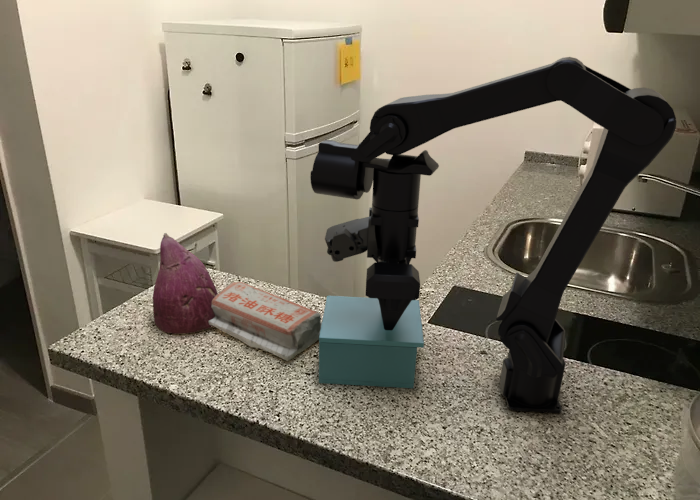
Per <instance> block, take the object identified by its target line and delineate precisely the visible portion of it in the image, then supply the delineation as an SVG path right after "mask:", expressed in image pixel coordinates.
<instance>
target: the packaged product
mask: <svg viewBox="0 0 700 500" xmlns="http://www.w3.org/2000/svg"><path fill="white" fill-rule="evenodd" d="M212 309H213V311H214V314H215V317H214V318H213V319H211V320H209V325H212V327H215V328H217V329H219V330H220V331H221V332H224V333H225V334H228V335H230V336H231V337H233V338H235V339H237V340H239V341H241V342H242V343H244V344H246V345H247V346H248V347H250V348H255V349H261V350H263V351H266V352H267V353H268V352H269V353H270V354H272V355H275V356H277V357H279V358H280V359H282V360H283V361H286V362H289V361H291V360H293V358H295V357H297V356H298V355H299V354H301V353H302V352H303V351H305V350H306V349H308V348H309V347H311V346H312V345H313V344H314V343H316V342H317V341H319V335H320V330H321V325H322V321H321V320H322V315H321V313H320V312H317V311H315V310H313V309H311V308H309V307H306V306H303V305H301V304H298V303H296V302H293V301H290V300H289V299H286V298H283V297H281V296H279V295H276V294H274V293H270V292H267V291H265V290H263V289H260V288H257V287H254V286H252V285H249V284H248V283H245V282H243V281H233V282H230V283H229V284H227V285H226V286H225V288H223V289H222V290H221V291H220V292H218V294H217V295H216V296H215V297H214V298H213V299H212Z"/></svg>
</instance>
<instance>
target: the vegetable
mask: <svg viewBox="0 0 700 500" xmlns="http://www.w3.org/2000/svg"><path fill="white" fill-rule="evenodd" d="M162 236H163V237H162V238H161V241H160V246H159V252H160V253H159V254H160V255H159V256H160V259H159V260H160V262H159V269H158V272H157V276H156V279H155V283H154V286H153V287H154V288H153V293H152V309H153V310H152V311H153V312H152V313H153V320H154V324H155V325H156V327H157V328H158V329H159V330H160V331H162V332H163V333H167V334H175V335H176V334H178V335H179V334H180V335H181V334H182V335H183V334H186V335H187V334H193V333H197V332H201V331H205V330H208V329H210V328H212V327H213V326H212V325H209V320H211V319H213V318H214V317H215V314H214V311H213V309H212V299H213V298H214V297H215V296H216V295H217V294H219V292H218V290H217V288H216V286H215V283H214V281H213V279H212V277H211V274H210V273H209V271H208V269H207V267H206V266H205V264H204V262H202V261H201V259H199V257H198V256H196V255H195V254H194V253H192V252H191V251H190V250H189V249H187V248H186V247H184V246H183V245H182V244H180V242H178V241H177V240H176V239H174V238H173V237H172V236H170V235H169V234H167V232H165V233H163V235H162Z"/></svg>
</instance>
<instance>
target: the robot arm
mask: <svg viewBox="0 0 700 500" xmlns="http://www.w3.org/2000/svg"><path fill="white" fill-rule="evenodd" d="M558 101H559V102H562V103H564V104H566V105H568V106H569V107H571V108H573V109H574V110H575V111H577V112H578V113H580V114H582V115H583V116H585V117H586V118H587V119H589V120H591V121H592V122H593V123H595V124H597V125H598V126H600V127H602V128H603V129H602V131H601V135H600V139H599V142H598V145H597V149H596V152H595V154H594V155H595V156H594V159H593V162H592V166H591V167H590V170H589V171H588V173H587V175H586V177H585V178H584V181H583V182H582V184H581V186H580V188H579V189H578V192H577V193H576V195H575V197H574V199H573V200H572V202H571V205H570V206H569V208H568V209H567V211H566V213H565V215H564V216H563V219H562V221H561V222H560V224H559V226H558V228H557V230H556V232H555V233H554V235H553V237H552V239H551V241H549V244H548V246H547V248H546V249H545V252H544V253H543V255H542V257H541V259H540V261H539V262H538V264H537V266H536V267H535V268H534V270H532V272H531V273H529V274H528V275H527V276H526V277H525V276H523V275H522V274H521V273H519V272H515V274H514V278H513V281H512V285H511V287H510V288H509V290H508V291H507V292H505V293H504V294H503V295H502V298H501V302H500V305H499V308H498V311H497V315H496V318H495V320H496V321H498V322H499V326H498V329H497V330H498V331H497V335H498V337H499V339H500V341H501V343H502V344H503V346H504V347H505V348H506V349H507V350H508V354H507V358H506V357H505V358H503V359H502V364H501V369H500V370H501V372H500V377H499V384H498V385H499V388H500V392H501V394H502V397H503V398H505V401H506V405H507V408H508V410H510V411H517V412H519V411H520V412H530V413H531V412H534V413H550V414H561V413H562V410H563V408H562V405H561V402H560V400H559V397H560V393H561V389H562V383H563V378H564V374H565V370H566V361H565V359H564V355H565V354H564V353H565V343H566V342H565V341H566V329H565V328H564V327H563V326H562V325H561V323H560V322H559V320H557V315H558V311H559V308H560V305H561V302H562V298H563V295H564V292H565V290H566V289H567V287H568V285H569V283H570V282H571V280H572V279H573V277H574V275H575V274H576V272H577V270H578V268H579V267H580V265H581V263H582V262H583V260H584V259H585V257H586V255H587V254H588V251H589V249H590V248H591V246H592V245H593V243H594V241H595V239H596V237H597V236H598V234H599V233H600V231H601V230H602V228H603V226H604V225H605V224H606V223H605V222H606V221H607V220H608V218H609V216H610V214H611V212H612V211H613V209H614V208H615V206H616V204H617V202H618V200H619V199H620V197H621V196H622V194H623V192H624V190H625V189H626V187H627V186H628V185H629V184H631V182H633V180H635V179H636V178H637V177H638V176H639V175H640V174H641V173H642V172H644V170H646V169H647V167H649V166H650V164H651V163H652V162H653V161H654V160H655V159H656V157H658V155H659V154H660V153H661V151H662V150H663V149H664V148H666V146H667V145H668V144H669V143H670V141H671V139H672V138H673V137H674V134H675V131H676V129H677V117H676V114H675V111H674V108H673V107H672V106H671V105H670V103H669V102H668V101H667V99H666V98H665V97H664V96H663V94H661V93H660V92H659V91H657V90H655V89H653V88H649V87H635V88H634V87H633V88H630V87H627V86H626V85H624V84H622V83H620V82H619V81H617V80H615V79H613V78H611V77H609V76H607V75H605V74H603V73H601V72H599V71H597V70H594V69H593V68H590V67H589V66H587V65H586V64H584V62H583V61H581V60H580V59H578V58H576V57H572V56H566V57H561V58H558V59H557V60H555V61H553V62H551V63H549V64H545V65H542V66H538V67H535V68H532V69H528V70H525V71H522V72H518V73H515V74H511V75H508V76H505V77H501V78H498V79H494V80H493V81H492V80H491V81H488V82H485V83H481V84H477V85H475V86H471V87H467V88H464V89H461V90H457V91H455V92H449V93H437V94H436V93H435V94H434V93H433V94H420V95H413V96H404V97H399V98H397V99H394V100H393V101H391V102H389V103H387V104H385V105H382V106H381V107H379V108H377V110H376V111H374V113H373V115H372V117H371V120H370V123H369V132H368V133H367V135H366V136H365V137H364V138H363V140H362V141H361V142H359V143H358V144H354V143H345V142H343V143H342V142H339V141H336V140H332V139H324V140H321V142H319V143H318V151H317V153H316V155H315V158H314V159H313V160H314V162H313V165H312V170H311V171H310V176H309V178H310V186H311V189H312V191H313V193H315V194H317V195H323V196H332V197H336V198H344V199H351V200H360V199H361V198H362V197H363V195H364V193H369V192H370V190H371V189H372V193H371V195H372V196H371V197H372V198H371V207H369V208H368V209H369V210H368V216H365V217H361V218H356V219H352V220H348V221H345V222H341V223H338V224H335V225H331V226H330V227H328V228H327V229H326V231H325V236H324V241H325V243H326V246H327V250H326V253H327V255H329V256H330V257H331V260H332V262H334V263H338V262H341V261H343V260H344V259H346V258H347V259H348V258H350V257H354V256H357V255H361V254H363V253H366V258H367V259H369V258H370V259H373V260H374V262H373V263H372V264H370V265H369V266H368V267H367V268H366V275H365V276H366V278H365V297H366V298H377V299H378V300H379V305H380V310H381V315H382V320H383V326H384V329H385V330H393V329H394V327H395V326H396V324H397V322H398V321H399V319H400V317H401V316H402V314H403V313H404V311H405V310H406V308H407V306H408V305H409V304H410V302H411V301H412V300H419V299H420V293H421V291H420V290H421V279H420V278H421V277H420V272H419V270H418V269H417V268H416V267H415V266H414V265H413V264H412V263H411V261H412V259H416V258H417V247H416V246H417V245H416V241H417V228H419V223H420V218H419V204H420V189H421V178H422V177H421V176H428V177H431V176H432V175H433V174H434V173H436V171H437V170H438V169H439V167H440V165H439V163H438V162H437V161H436V160H435V159H434V158H432V156H431V155H430V154H429V151H428V149H424V150H422V152H420V153H419V154H418V155H411V154H405V153H408V152H409V151H411V150H414V149H416V148H418V147H420V146H422V145H424V144H426V143H428V142H430V141H432V140H434V139H436V138H438V137H440V136H442V135H444V134H446V133H448V132H450V131H453V130H454V129H458V128H461V127H466V126H469V125H472V124H476V123H479V122H480V123H481V122H483V121H487V120H491V119H495V118H498V117H503V116H506V115H510V114H513V113H517V112H521V111H525V110H528V109H532V108H536V107H539V106H544V105H547V104H550V103H553V102H558ZM384 154H386V155H390V156H391V158H380V156H382V155H384Z"/></svg>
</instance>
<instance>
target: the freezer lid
mask: <svg viewBox="0 0 700 500" xmlns="http://www.w3.org/2000/svg"><path fill="white" fill-rule="evenodd" d="M321 320H322V321H321V322H322V325H321V330H320V335H319V340H318V343H319V342H326V343H344V344H363V345H381V346H400V347H417V348H420V349H421V348H424V347H425V340H424V331H423V324H422V323H423V322H422V314H421V306H420V300H419V299H416V300H412V301H411V302H410V304H409V305H408V306H407V308H406V310H405V311H404V313H403V314H402V316H401V317H400V319H399V321H398V322H397V324H396V326H395V327H394V329H393V330H385V329H384V326H383V320H382V315H381V310H380V305H379V300H378V299H377V298H369V297H367V296H365V297H364V296H347V295H346V296H345V295H344V296H343V295H326V298H325V305H324V310H323V315H322V319H321Z"/></svg>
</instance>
